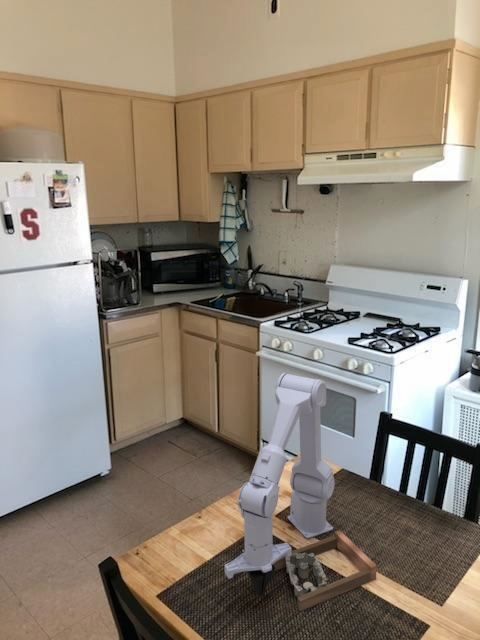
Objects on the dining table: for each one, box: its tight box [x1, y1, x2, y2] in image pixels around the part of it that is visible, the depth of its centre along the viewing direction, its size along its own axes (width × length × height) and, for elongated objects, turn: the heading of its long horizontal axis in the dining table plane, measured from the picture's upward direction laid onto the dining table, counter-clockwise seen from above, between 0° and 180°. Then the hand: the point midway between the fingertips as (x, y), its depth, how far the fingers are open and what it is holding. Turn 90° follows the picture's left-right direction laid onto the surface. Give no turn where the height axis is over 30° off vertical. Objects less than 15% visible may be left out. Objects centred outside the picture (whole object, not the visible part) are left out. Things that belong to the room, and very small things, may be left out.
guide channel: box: [273, 529, 378, 612], centre depth 115 cm, size 13×20×4 cm
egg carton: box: [285, 552, 328, 597], centre depth 113 cm, size 11×8×4 cm
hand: (259, 593), depth 109 cm, fingers closed
